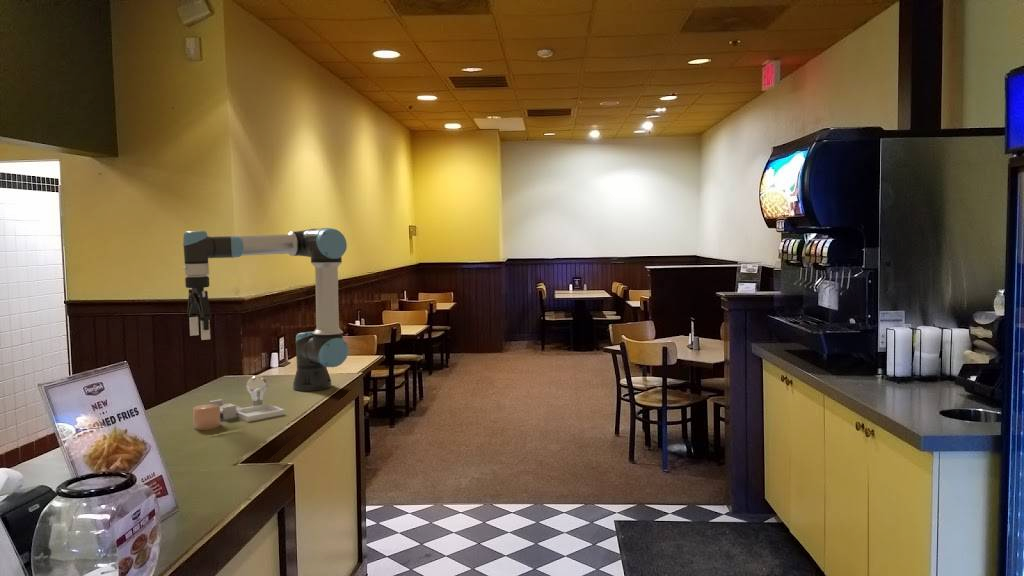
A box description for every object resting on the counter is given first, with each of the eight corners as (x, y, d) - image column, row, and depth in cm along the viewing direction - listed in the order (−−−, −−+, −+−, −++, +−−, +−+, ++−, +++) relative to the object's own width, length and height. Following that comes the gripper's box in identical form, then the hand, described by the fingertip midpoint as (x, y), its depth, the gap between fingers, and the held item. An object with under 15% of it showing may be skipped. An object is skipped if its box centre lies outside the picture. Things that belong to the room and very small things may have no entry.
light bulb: (261, 411, 251) (259, 377, 250) (243, 410, 253) (242, 377, 252) (271, 406, 258) (270, 373, 257) (254, 405, 260) (253, 373, 259)
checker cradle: (229, 411, 251) (228, 397, 251) (245, 418, 241) (245, 404, 241) (200, 416, 245) (199, 402, 244) (216, 424, 234) (215, 409, 234)
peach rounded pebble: (215, 423, 235) (214, 403, 235) (224, 428, 229) (223, 407, 229) (190, 428, 230) (189, 407, 229) (199, 433, 224) (198, 411, 223)
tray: (268, 410, 252) (268, 403, 252) (285, 416, 243) (284, 409, 243) (232, 417, 244) (231, 409, 243) (248, 424, 234) (247, 416, 234)
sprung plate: (230, 406, 249) (230, 403, 249) (241, 410, 243) (241, 407, 242) (204, 410, 243) (204, 407, 243) (214, 415, 236) (214, 412, 236)
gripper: (175, 275, 250) (178, 334, 252) (195, 278, 231) (199, 342, 233) (198, 274, 255) (201, 332, 257) (219, 276, 236) (222, 340, 237)
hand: (200, 337), depth 245 cm, fingers open, 13 cm apart
